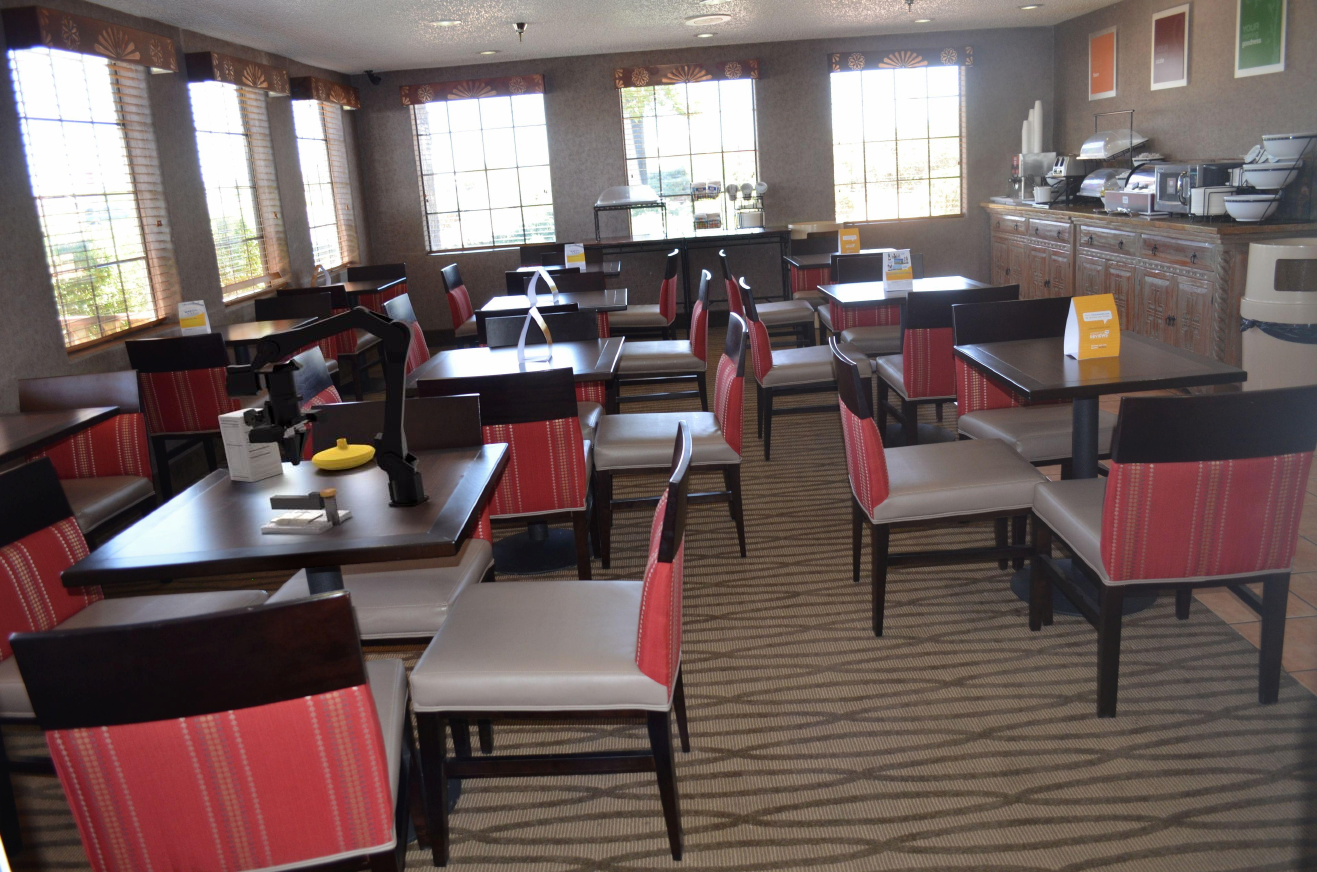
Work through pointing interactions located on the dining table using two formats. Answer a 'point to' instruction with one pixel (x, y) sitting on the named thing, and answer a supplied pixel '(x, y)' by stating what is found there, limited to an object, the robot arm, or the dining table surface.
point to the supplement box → (247, 450)
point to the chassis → (308, 519)
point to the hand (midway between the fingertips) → (296, 465)
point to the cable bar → (301, 501)
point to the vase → (343, 456)
